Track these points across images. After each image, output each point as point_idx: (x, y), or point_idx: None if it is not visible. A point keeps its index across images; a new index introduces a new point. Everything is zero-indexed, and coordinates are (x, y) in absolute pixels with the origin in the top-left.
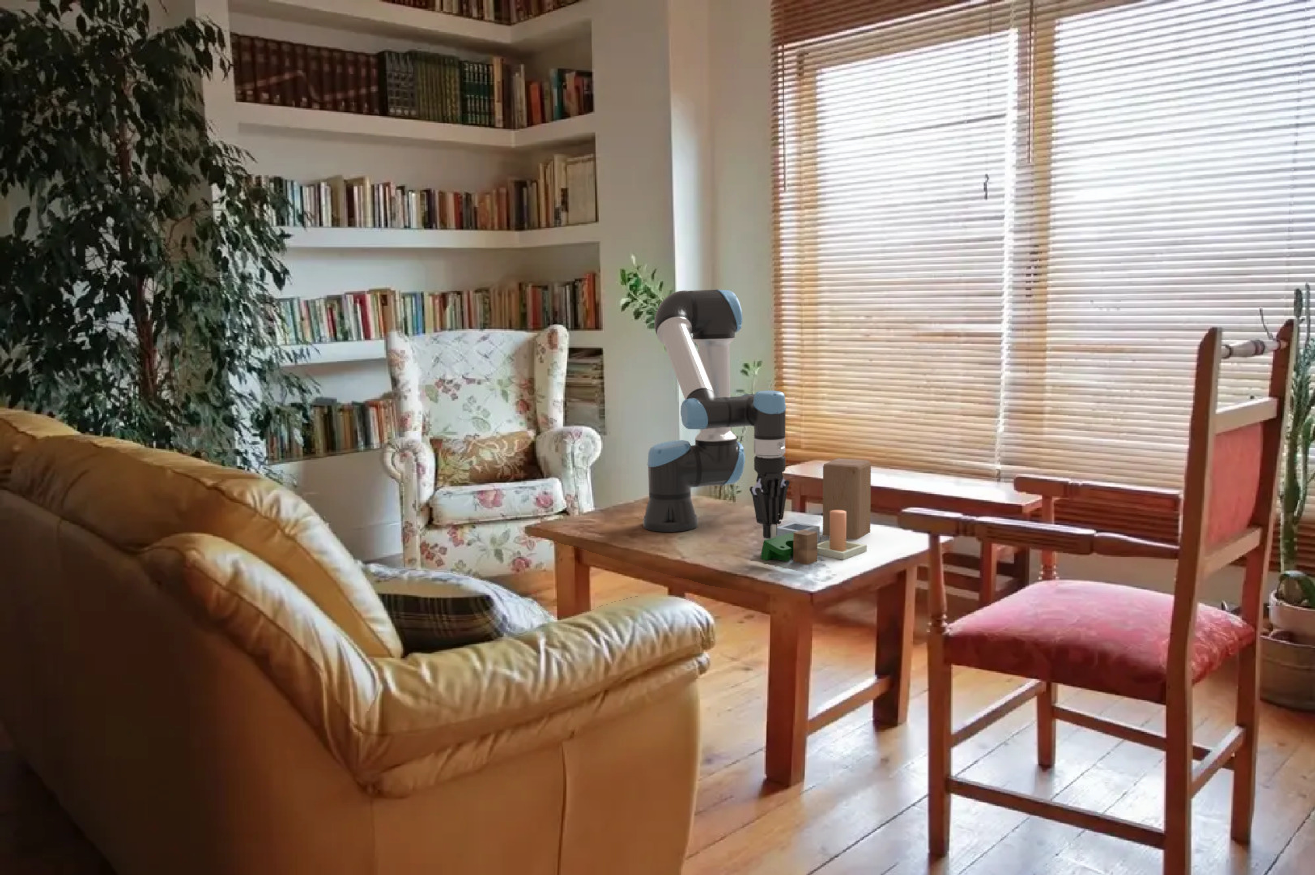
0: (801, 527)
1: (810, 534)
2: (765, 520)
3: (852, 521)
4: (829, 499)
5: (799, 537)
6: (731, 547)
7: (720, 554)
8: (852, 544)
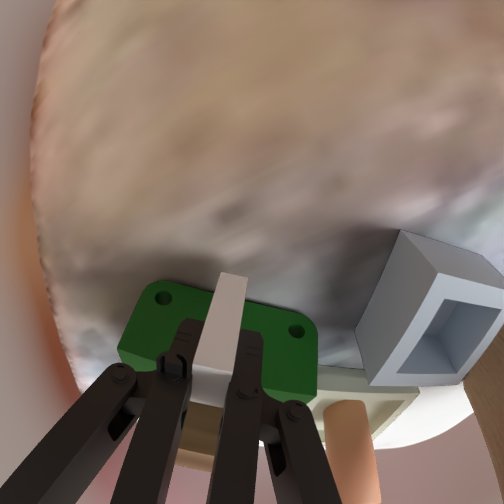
0: (481, 326)
1: (188, 467)
2: (121, 414)
3: (481, 415)
4: None
5: None
6: (310, 52)
7: (171, 71)
8: (374, 429)
